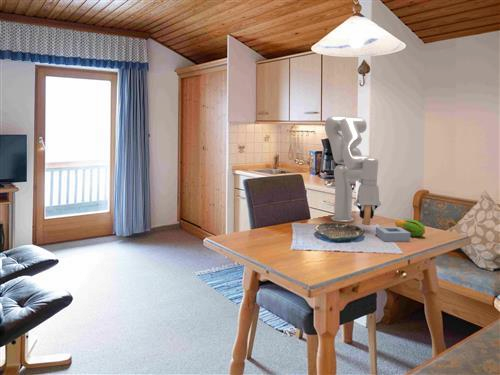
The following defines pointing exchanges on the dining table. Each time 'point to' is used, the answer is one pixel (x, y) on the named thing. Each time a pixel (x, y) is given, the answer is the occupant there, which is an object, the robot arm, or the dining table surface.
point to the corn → (411, 227)
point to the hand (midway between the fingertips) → (366, 217)
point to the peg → (366, 215)
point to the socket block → (393, 234)
